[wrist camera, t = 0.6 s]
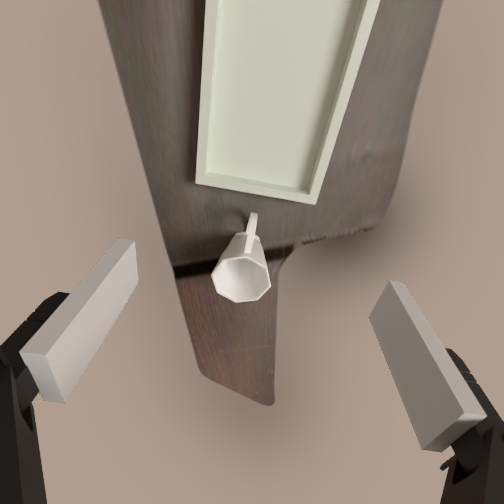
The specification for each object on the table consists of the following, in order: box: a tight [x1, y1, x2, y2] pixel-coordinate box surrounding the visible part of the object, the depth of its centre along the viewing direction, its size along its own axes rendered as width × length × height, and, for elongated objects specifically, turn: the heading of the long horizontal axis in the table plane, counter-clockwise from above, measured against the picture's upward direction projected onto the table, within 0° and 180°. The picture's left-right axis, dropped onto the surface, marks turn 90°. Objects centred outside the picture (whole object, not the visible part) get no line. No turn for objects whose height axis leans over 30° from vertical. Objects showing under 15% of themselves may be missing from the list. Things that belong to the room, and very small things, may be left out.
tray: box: [195, 0, 380, 205], centre depth 27 cm, size 20×14×2 cm
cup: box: [211, 212, 271, 303], centre depth 34 cm, size 7×10×8 cm
